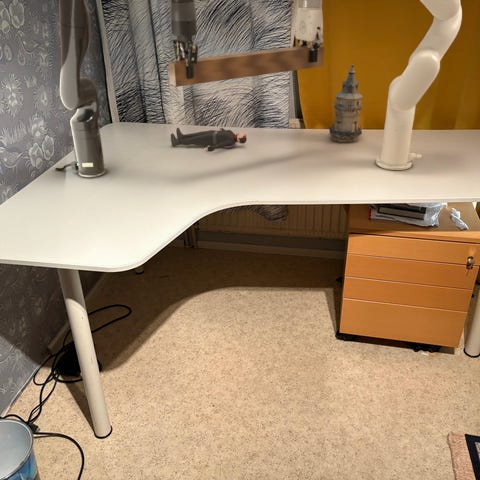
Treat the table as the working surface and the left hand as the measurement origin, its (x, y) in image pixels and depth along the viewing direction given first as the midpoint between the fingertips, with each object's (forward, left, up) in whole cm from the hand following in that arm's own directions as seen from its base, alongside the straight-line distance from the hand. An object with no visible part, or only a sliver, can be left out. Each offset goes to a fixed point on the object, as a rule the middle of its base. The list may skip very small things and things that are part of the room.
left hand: (186, 76), depth 167 cm
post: (+12, +20, -2) cm, 23 cm away
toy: (-16, +34, -36) cm, 52 cm away
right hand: (+23, +40, 0) cm, 46 cm away
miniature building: (+29, +67, -36) cm, 81 cm away
